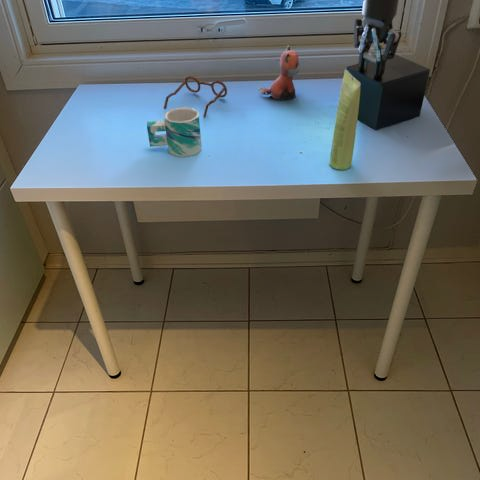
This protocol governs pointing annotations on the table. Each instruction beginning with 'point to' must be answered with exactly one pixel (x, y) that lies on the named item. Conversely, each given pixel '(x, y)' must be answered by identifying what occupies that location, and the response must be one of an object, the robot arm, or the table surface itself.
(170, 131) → the mug
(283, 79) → the stuffed fox
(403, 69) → the bin lid
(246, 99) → the table surface
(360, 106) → the bin
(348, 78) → the tube
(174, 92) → the glasses
